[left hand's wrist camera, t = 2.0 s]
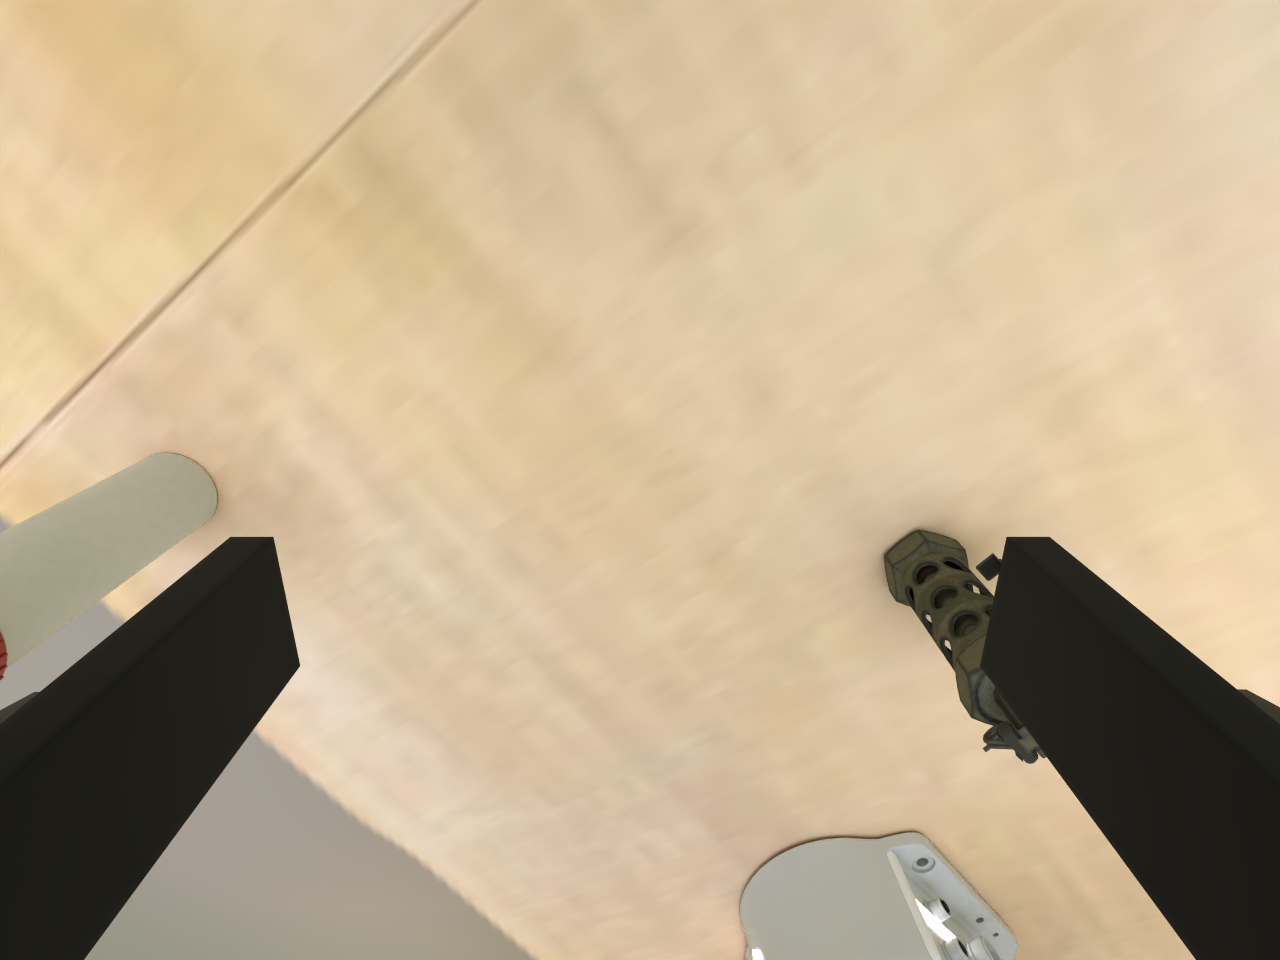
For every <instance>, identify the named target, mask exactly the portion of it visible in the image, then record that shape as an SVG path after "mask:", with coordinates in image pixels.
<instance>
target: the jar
mask: <svg viewBox="0 0 1280 960" xmlns="http://www.w3.org/2000/svg"><path fill="white" fill-rule="evenodd" d="M217 500H218V499H217V491H216V487H215V485H214V483H213V480H212V479H211V477H210V476H209V474H208V473H207V472H206V471H205V470H204V469H203V468H202V467H201V466H200V465H199V464H197V463H196V462H194V461H193V460H191V459H189V458H187V457H184V456H182V455H178V454H173V453H159V454H155V455H152V456H149V457H148V458H146V459H144V460H142V461H140V462H138V463H136V464H134V465H132V466H130V467H128V468H126V469H124V470H122V471H120V472H118V473H116V474H115V475H113V476H111V477H109V478H107V479H105V480H103V481H101V482H99V483H97V484H95V485H93V486H91V487H89V488H87V489H85V490H83V491H82V492H80V493H78V494H76V495H74V496H72V497H70V498H68V499H66V500H64V501H62V502H60V503H58V504H56V505H54V506H52V507H50V508H49V509H47V510H45V511H43V512H41V513H39V514H37V515H35V516H33V517H31V518H29V519H27V520H25V521H23V522H21V523H19V524H17V525H16V526H14V527H12V528H10V529H8V530H6V531H4V532H2V533H0V632H1V634H2V636H3V638H4V640H5V644H6V649H7V653H8V655H7V665H8V666H7V667H9V666H10V665H12V664H13V663H14V662H16V661H17V660H18V659H20V658H21V657H22V656H24V655H25V654H27V653H28V652H29V651H31V650H32V649H33V648H35V647H36V646H37V645H39V644H40V643H41V642H43V641H44V640H46V639H47V638H48V637H50V636H51V635H52V634H54V633H55V632H56V631H58V630H59V629H61V628H62V627H63V626H65V625H66V624H67V623H69V622H70V621H72V620H73V619H74V618H76V617H77V616H78V615H80V614H81V613H83V612H84V611H85V610H87V609H88V608H89V607H91V606H92V605H93V604H95V603H96V602H98V601H99V600H100V599H102V598H103V597H104V596H106V595H107V594H108V593H110V592H111V591H113V590H114V589H115V588H117V587H118V586H119V585H121V584H122V583H123V582H125V581H126V580H128V579H129V578H130V577H132V576H133V575H134V574H136V573H137V572H138V571H140V570H141V569H143V568H144V567H145V566H147V565H148V564H149V563H151V562H152V561H153V560H155V559H156V558H158V557H159V556H160V555H162V554H163V553H164V552H166V551H167V550H168V549H170V548H171V547H173V546H174V545H175V544H177V543H178V542H179V541H181V540H182V539H183V538H185V537H186V536H188V535H189V534H190V533H192V532H193V531H194V530H196V529H197V528H198V527H200V526H201V525H203V524H204V523H205V522H207V521H208V520H209V519H210V518H211V517H212V515H213V514H214V512H215V510H216V506H217Z"/></svg>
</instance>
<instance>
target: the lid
mask: <svg viewBox="0 0 1280 960" xmlns="http://www.w3.org/2000/svg"><path fill="white" fill-rule="evenodd" d="M7 655H8V653H7V649H6V644H5V640H4V638H3V636H2V634H1V632H0V680H1V679H2V678H3V677H4V676H2V675H3V674H4V671H5V669H6V668H7V666H8V665H7Z"/></svg>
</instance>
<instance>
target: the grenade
mask: <svg viewBox="0 0 1280 960" xmlns="http://www.w3.org/2000/svg"><path fill="white" fill-rule="evenodd" d="M1001 562H1002V560H1001V559H998V558H997V557H996V556H995V555H994V554H991V555H990V556H989V557H987V558H986V559H985V560H984V561H982V562H981V563H980V564H979V565H977V566H976V569H977V570H978V571H979V572H980V573H981V574H982V575H983V576H984V577H985V578H986V580H987V581H990V580H991V579H992V578H994V577H995V576H996V575H998V574H999V571H1000V567H1001ZM885 568H886V575H887V581H888V586H889V590H890V592H891V594H892V595H893V597H894V599H895V600H896V601H897V602H899V603H902V604H904V605H907V606H910V607H912V609H913V610H914V611H915V613H916V615H917V616H918V618H919V619H920V621H921V622H922V623H923V625H924V626H925V628H926V629H927V631H928V632H929V634H930V635H931V637H932V638H933V640H934V641H935V643H936V644H937V646H938V647H939V649H940V650H941V652H942V653H943V654H944V656H945V657H946V659H947V661H948V662H949V663H950V665H951V666H952V668H953V670H954V671H955V673H956V681H957V688H958V692H959V697H960V701H961V702H962V704H963V706H964V707H965V709H966V710H967V712H968V713H969V715H970V716H971V718H973V719H976V720H978V721H981V722H983V723H986V724H990V725H993V727H992V728H990V729H989V730H988V731H987V732H986V733H985V734H984V736H983V741H984V742H985V743H987V746H985V747H984V748H983V749H984V751H985V752H987V751H988V750H990V749H991V748H993V749H1013V750H1014V751H1015V753H1016V756H1017V757H1018V758H1019V759H1021V760H1022V761H1023V760H1024V761H1025V762H1026V763H1029V764H1031V763H1034V762H1035V761H1036V760H1037V759H1038V754H1039V755H1040V756H1041V757H1042V758H1046V757H1047V756H1046V755H1045V754H1044V752H1043V751H1042V750H1041V748H1040V747H1039V746H1038V744H1037V743H1036V742H1035V740H1034V739H1033V737H1032V736H1031V735H1030V733H1029V732H1028V731H1027V729H1026V728H1025V727H1024V725H1023V724H1022V722H1021V721H1020V720H1019V718H1018V717H1017V716H1016V714H1015V713H1014V712H1013V710H1012V709H1011V708H1010V706H1009V705H1008V703H1007V702H1006V701H1005V699H1004V698H1003V697H1002V695H1001V694H1000V693H999V691H998V690H997V688H996V687H995V686H994V684H993V683H992V682H991V680H990V679H989V678H988V676H987V675H986V674H985V672H984V671H983V669H982V668H981V667H980V663H981V658H982V653H983V648H984V643H985V639H986V634H987V629H988V624H989V619H990V615H991V610H992V605H993V600H994V596H993V595H992V594H991V593H990V592H989V590H988V589H987V588H986V587H985V586H984V585H983V584H982V583H981V582H980V580H979V579H978V578H977V577H976V576H975V575H974V574H973V573H972V572H971V570H970V569H969V567H968V560H967V555H966V550H965V549H964V548H963V547H962V546H961V544H960V543H959V542H958V541H957V540H955V539H952V538H949V537H946V536H943V535H939V534H936V533H932V532H927V531H921V530H917V531H915V532H914V533H912V534H910V535H908V536H907V537H906V538H904V539H903V540H901V541H900V542H899V543H898V544H896V545H895V546H894V547H893V548H892V549H891V550H890V551H889V552H888V553H887V554H886V555H885ZM973 585H974V586H976V587H977V588H978V589H979V591H980V594H978V593H974V592H973ZM926 614H927V615H930V616H931V621H932V623H931V622H930V621H928V620H927V619H926ZM945 640H948V641H949V642H950V645H951V650H952V651H951V650H950V649H949V648H947V647H946V646H945ZM994 732H995V733H994ZM997 737H998V738H997ZM995 738H996V739H995ZM1037 753H1038V754H1037Z"/></svg>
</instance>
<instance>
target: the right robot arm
mask: <svg viewBox="0 0 1280 960" xmlns="http://www.w3.org/2000/svg"><path fill="white" fill-rule="evenodd" d="M740 920H741V924H742V927H743V930H744V933H745V936H746V939H747V943H748V945H747V948H746V953H745V959H744V960H1013V958H1014V956H1015V954H1016V952H1017V949H1018V944H1017V941H1016V938H1015V936H1014V934H1013V932H1012V931H1011V929H1010V928H1009V927H1008V926H1007V925H1006V924H1005V923H1004V922H1003V921H1002V919H1001V918H1000V917H999V916H998V915H997V914H996V913H995V912H994V911H993V910H992V909H991V908H990V906H989V905H988V904H987V903H986V902H985V901H984V900H983V899H982V898H981V897H980V896H979V895H978V893H977V892H976V891H975V890H974V889H973V888H972V887H971V886H970V885H969V884H968V883H967V881H966V880H965V879H964V878H963V877H962V876H961V875H960V874H959V873H958V872H957V871H956V870H955V868H954V867H953V866H952V865H951V864H950V863H949V862H948V861H947V860H946V859H945V858H944V857H943V855H942V854H941V853H940V852H939V851H938V850H937V849H936V848H935V847H934V846H933V845H932V843H931V842H930V841H929V840H928V839H927V838H926V837H925V836H924V835H922V834H920V833H916V832H908V833H901V834H896V835H892V836H888V837H884V838H880V839H859V838H831V839H823V840H818V841H813V842H809V843H806V844H803V845H799V846H797V847H794V848H792V849H790V850H787V851H785V852H783V853H782V854H780V855H778V856H776V857H775V858H773V859H772V860H770V861H769V862H768V863H766V864H765V865H764V866H763V867H762V868H761V869H760V870H759V871H758V872H757V873H756V874H755V875H754V876H753V877H752V879H751V880H750V881H749V883H748V885H747V886H746V888H745V890H744V893H743V895H742V899H741V903H740Z"/></svg>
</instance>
